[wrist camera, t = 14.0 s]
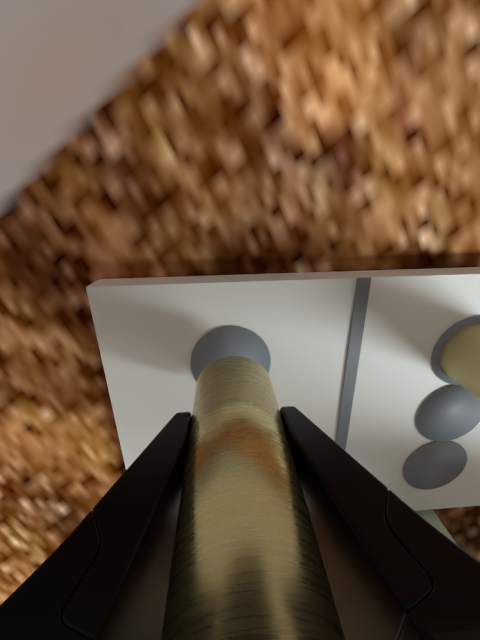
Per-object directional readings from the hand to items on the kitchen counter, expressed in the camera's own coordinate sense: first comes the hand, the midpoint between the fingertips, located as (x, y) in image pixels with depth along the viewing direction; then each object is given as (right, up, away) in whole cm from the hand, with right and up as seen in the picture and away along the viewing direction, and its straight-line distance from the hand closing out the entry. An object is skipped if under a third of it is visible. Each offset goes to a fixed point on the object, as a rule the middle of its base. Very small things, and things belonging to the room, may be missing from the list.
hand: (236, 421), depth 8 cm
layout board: (+5, -1, +6) cm, 7 cm away
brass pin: (0, +1, +1) cm, 2 cm away
